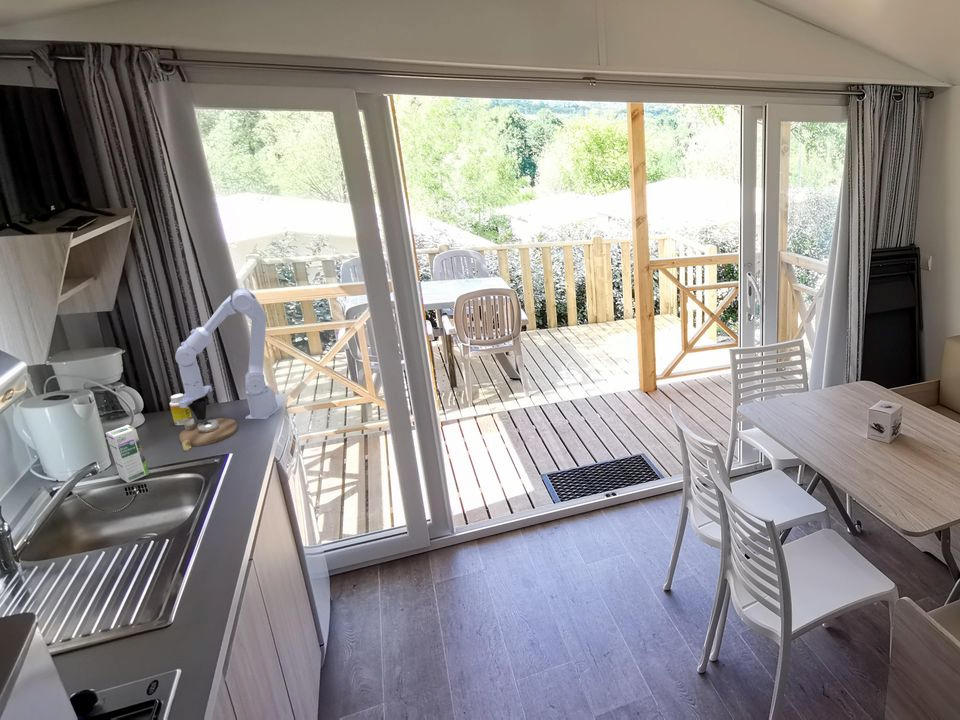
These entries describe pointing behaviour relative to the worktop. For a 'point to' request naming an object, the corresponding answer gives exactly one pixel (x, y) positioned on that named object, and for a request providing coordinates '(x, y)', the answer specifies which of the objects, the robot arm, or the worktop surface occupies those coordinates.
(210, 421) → the metal cover
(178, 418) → the supplement bottle
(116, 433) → the syrup box
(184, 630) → the worktop surface
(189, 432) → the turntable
